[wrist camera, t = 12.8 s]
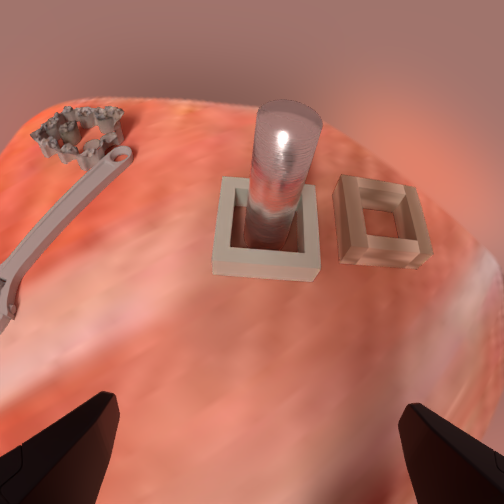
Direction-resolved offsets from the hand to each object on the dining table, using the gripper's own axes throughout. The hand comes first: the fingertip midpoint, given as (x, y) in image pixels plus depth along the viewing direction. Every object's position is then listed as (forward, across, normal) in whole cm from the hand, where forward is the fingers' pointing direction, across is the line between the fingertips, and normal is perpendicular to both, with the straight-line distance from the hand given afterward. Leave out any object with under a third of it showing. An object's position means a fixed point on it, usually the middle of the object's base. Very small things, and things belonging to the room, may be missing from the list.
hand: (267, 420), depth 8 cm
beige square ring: (+21, -11, -2) cm, 24 cm away
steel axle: (+20, -1, -1) cm, 20 cm away
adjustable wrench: (+18, +19, +2) cm, 27 cm away
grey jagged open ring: (+28, +20, -8) cm, 35 cm away
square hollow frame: (+20, -1, -1) cm, 20 cm away
